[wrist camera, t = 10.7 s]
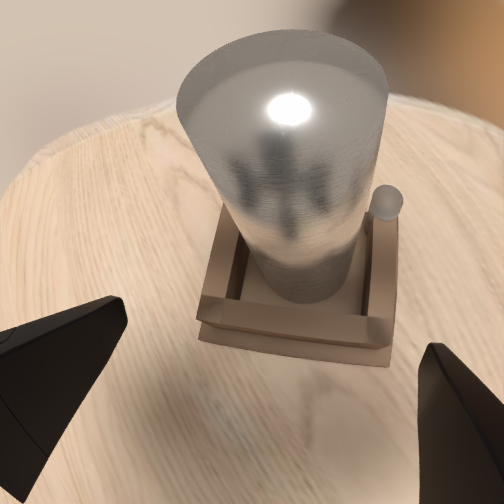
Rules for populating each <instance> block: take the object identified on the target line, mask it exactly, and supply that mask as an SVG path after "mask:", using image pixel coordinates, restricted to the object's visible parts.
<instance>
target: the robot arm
mask: <svg viewBox="0 0 504 504" xmlns="http://www.w3.org/2000/svg"><path fill="white" fill-rule="evenodd" d="M127 323H128V319H127V314H126V311H125V306H124V302H123V300H122V299H121V298H120V297H116V296H112V295H110V296H106V297H103V298H100V299H97V300H94V301H91V302H88V303H85V304H82V305H79V306H76V307H73V308H70V309H68V310H65V311H62V312H59V313H56V314H53V315H50V316H47V317H44V318H41V319H38V320H35V321H32V322H29V323H26V324H23V325H20V326H18V327H14V328H11V329H8V330H5V331H2V332H0V486H1V487H2V488H3V489H4V490H6V491H7V492H8V493H9V494H11V495H12V496H13V497H14V498H16V499H17V500H18V501H19V502H21V503H22V504H23V503H24V502H25V501H26V499H27V497H28V495H29V493H30V492H31V490H32V488H33V486H34V484H35V482H36V480H37V479H38V477H39V475H40V473H41V471H42V469H43V468H44V466H45V464H46V462H47V461H48V458H49V457H50V455H51V453H52V451H53V450H54V448H55V446H56V445H57V443H58V441H59V439H60V438H61V436H62V434H63V433H64V431H65V429H66V428H67V426H68V424H69V423H70V421H71V419H72V418H73V416H74V414H75V413H76V411H77V410H78V408H79V406H80V405H81V403H82V402H83V400H84V398H85V397H86V395H87V394H88V392H89V390H90V389H91V387H92V386H93V384H94V383H95V381H96V379H97V378H98V376H99V375H100V373H101V372H102V370H103V369H104V367H105V365H106V364H107V362H108V360H109V359H110V357H111V355H112V353H113V351H114V349H115V347H116V345H117V343H118V341H119V340H120V338H121V336H122V334H123V332H124V330H125V328H126V326H127ZM417 422H418V440H419V469H420V492H419V504H504V404H503V403H502V402H501V401H500V400H499V399H498V398H497V397H496V396H495V395H494V394H493V393H492V392H491V391H490V390H489V388H488V387H487V386H486V385H485V384H484V383H483V382H482V381H481V380H480V379H479V378H478V377H477V376H476V375H475V374H474V373H473V372H472V371H471V370H470V369H469V368H468V367H467V366H466V365H465V364H464V363H463V362H462V361H461V360H460V359H459V358H458V357H457V356H456V355H455V354H454V353H453V352H452V351H451V350H450V349H449V348H448V347H447V346H446V345H444V344H443V343H433V342H431V343H429V344H428V346H427V348H426V350H425V353H424V355H423V358H422V360H421V363H420V365H419V369H418V418H417Z"/></svg>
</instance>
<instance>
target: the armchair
mask: <svg viewBox="0 0 504 504" xmlns="http://www.w3.org/2000/svg"><path fill="white" fill-rule="evenodd" d="M218 193H219V192H218ZM219 195H220V194H219ZM220 197H221V196H220ZM402 205H403V197H402V194H401V193H400V191H399V190H398V189H396V188H395V187H393V186H390V185H381V186H379V187H377V188H376V189H375V190H374V192H373V196H372V200H371V204H370V207H369V211H368V212H365V213H364V217H363V221H362V225H361V229H360V233H359V237H358V240H357V244H356V248H355V251H354V255H353V258H352V262H351V265H350V269H349V272H348V275H347V278H346V280H345V282H344V284H343V285H342V287H341V288H340V289H339V290H338V291H337V292H336V293H335V294H334V295H332V296H331V297H329V298H328V299H326V300H324V301H321V302H318V303H313V304H298V303H293V302H290V301H288V300H286V299H284V298H282V297H281V296H279V295H278V294H277V293H276V292H275V291H274V290H273V289H272V288H271V287H270V285H269V284H268V282H267V280H266V278H265V277H264V275H263V273H262V271H261V269H260V267H259V266H258V264H257V262H256V260H255V258H254V256H253V255H252V253H251V251H250V249H249V247H248V245H247V244H246V242H245V240H244V238H243V236H242V234H241V233H240V231H239V229H238V227H237V225H236V223H235V222H234V220H233V218H232V216H231V214H230V213H229V211H228V209H227V207H226V205H225V203H224V202H223V206H222V210H221V214H220V218H219V222H218V226H217V230H216V234H215V238H214V242H213V246H212V251H211V255H210V259H209V263H208V267H207V272H206V276H205V280H204V285H203V289H202V293H201V298H200V302H199V307H198V311H197V316H196V319H197V320H199V321H201V322H202V324H201V328H200V333H199V338H198V340H201V341H206V342H211V343H216V344H221V345H226V346H231V347H236V348H242V349H247V350H253V351H259V352H265V353H271V354H277V355H284V356H290V357H297V358H305V359H312V360H320V361H329V362H337V363H347V364H357V365H368V366H380V367H389V366H390V359H391V351H392V343H393V333H394V323H395V311H396V296H397V277H398V214H399V212H400V210H401V207H402Z"/></svg>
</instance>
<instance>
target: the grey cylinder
mask: <svg viewBox="0 0 504 504" xmlns="http://www.w3.org/2000/svg"><path fill="white" fill-rule="evenodd" d="M388 93H389V89H388V82H387V78H386V75H385V73H384V71H383V69H382V67H381V66H380V65H379V63H378V62H377V61H376V60H375V59H374V58H373V57H372V56H371V55H370V54H369V53H368V52H367V51H365V50H364V49H363V48H361V47H359V46H358V45H356V44H354V43H352V42H350V41H348V40H345V39H343V38H340V37H337V36H335V35H331V34H327V33H323V32H317V31H310V30H276V31H268V32H264V33H258V34H254V35H250V36H247V37H244V38H241V39H238V40H236V41H233V42H231V43H228V44H226V45H224V46H222V47H221V48H219V49H217V50H215V51H214V52H212V53H211V54H209V55H208V56H206V57H205V58H204V59H203V60H201V61H200V62H199V63H198V64H197V65H196V66H195V67H194V68H193V69H192V70H191V71H190V72H189V74H188V75H187V76H186V78H185V79H184V81H183V83H182V85H181V87H180V89H179V92H178V96H177V102H176V109H177V115H178V118H179V120H180V122H181V125H182V126H183V128H184V130H185V132H186V134H187V136H188V137H189V139H190V141H191V143H192V145H193V147H194V148H195V150H196V152H197V154H198V156H199V158H200V159H201V161H202V163H203V165H204V167H205V169H206V170H207V172H208V174H209V176H210V178H211V180H212V181H213V183H214V185H215V187H216V189H217V191H218V192H219V194H220V196H221V198H222V200H223V202H224V203H225V205H226V207H227V209H228V211H229V213H230V214H231V216H232V218H233V220H234V222H235V223H236V225H237V227H238V229H239V231H240V233H241V234H242V236H243V238H244V240H245V242H246V244H247V245H248V247H249V249H250V251H251V253H252V255H253V256H254V258H255V260H256V262H257V264H258V266H259V267H260V269H261V271H262V273H263V275H264V277H265V278H266V280H267V282H268V284H269V285H270V287H271V288H272V289H273V290H274V291H275V292H276V293H277V294H278V295H279V296H281V297H282V298H284V299H286V300H288V301H290V302H293V303H298V304H313V303H318V302H321V301H324V300H326V299H328V298H329V297H331V296H332V295H334V294H335V293H336V292H337V291H338V290H339V289H340V288H341V287H342V285H343V284H344V282H345V280H346V278H347V275H348V272H349V269H350V265H351V262H352V258H353V255H354V251H355V248H356V244H357V240H358V237H359V233H360V229H361V225H362V221H363V217H364V213H365V209H366V205H367V201H368V197H369V193H370V188H371V184H372V179H373V175H374V170H375V166H376V161H377V156H378V151H379V146H380V141H381V135H382V130H383V124H384V118H385V112H386V106H387V100H388Z"/></svg>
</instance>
